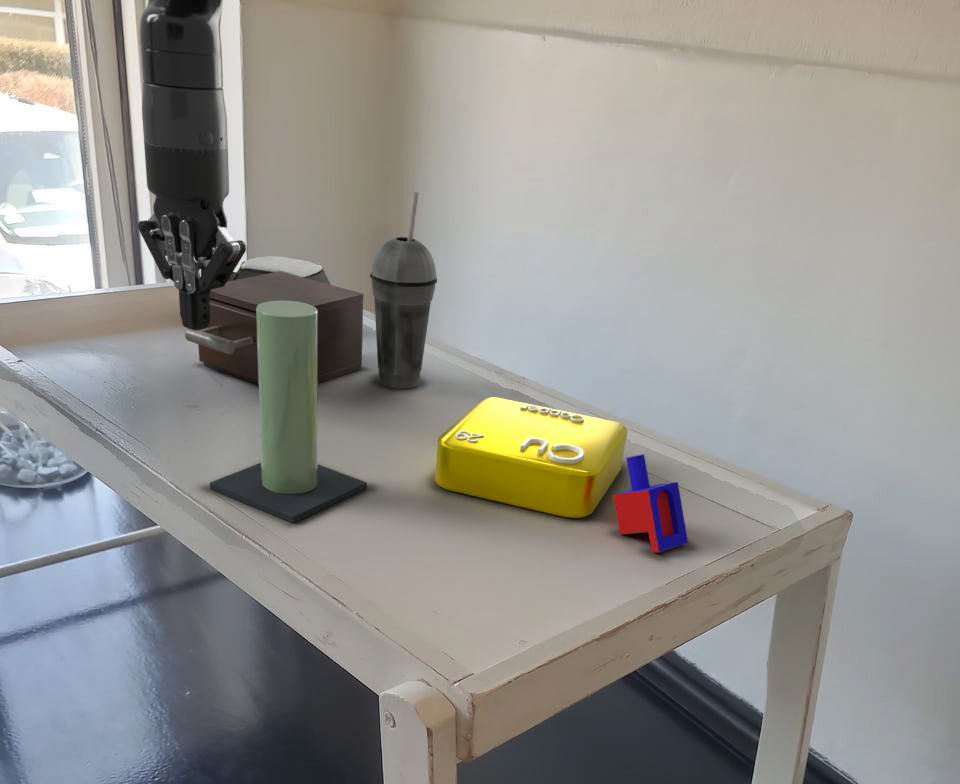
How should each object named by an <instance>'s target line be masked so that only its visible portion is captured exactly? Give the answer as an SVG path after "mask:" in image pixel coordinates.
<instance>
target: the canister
mask: <svg viewBox="0 0 960 784" xmlns="http://www.w3.org/2000/svg"><path fill="white" fill-rule="evenodd" d="M256 324H257V355H258V384H257V385H258V409H259V411H258V412H259V414H258V415H259V445H260V463H261V480H262V485H263V486H264V487H265V488H266V489H268V490H270V491H272V492H276V493H281V494H300V493H305V492H308V491H311V490H313V489H314V488H315V487H316V486H317V464H318V449H319V448H318V445H319V444H318V443H319V441H318V434H319V433H318V432H319V431H318V430H319V429H318V428H319V427H318V424H319V423H318V421H319V420H318V417H319V416H318V415H319V414H318V413H319V412H318V407H319V406H318V395H319V394H318V392H319V391H318V387H319V385H318V384H319V383H318V311H317V309H316V308H315V307H314V306H312V305H309V304H306V303H302V302H296V301H269V302H264V303H261V304H259V305H257V307H256Z"/></svg>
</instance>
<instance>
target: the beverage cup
mask: <svg viewBox="0 0 960 784" xmlns="http://www.w3.org/2000/svg"><path fill="white" fill-rule="evenodd" d="M418 201H419V192H416V191H413V195H412V203H411V210H410V218H409V225H408V226H409V227H408V234H407V236H398V237H394V238H392V239H389V240H388V241H386V242H385V243H383V245H381V247H380V248H379V249H378V251H377V252H376V254H375V256H374V259H373V261H372V265H371V272H370V275H369V277H370V279H371V290H372V295H373V297H374V298H373V299H374V318H375V337H376V357H377V368H378V376H379V378H378V379H379V380H378V381H379V383H380V385H383V386H385V387H388V388H393V389H413V388H416V387H418V386H419V383H420V377H421V372H422V367H423V361H424V360H423V359H424V353H425V346H426V339H427V332H428V324H429V317H430V311H431V310H430V309H431V303H432V301H433V298H434V294H435V291H436V284H437V283H438V277H437V269H436V263H435V259H434V258H433V255H432V253H431V252H430V251H429V249H428V247H426V246H425V245H424V244H423V243H422V242H420V241H419V240H417V239H415V238H414V231H415V225H416V217H417V208H418Z"/></svg>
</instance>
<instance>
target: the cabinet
mask: <svg viewBox="0 0 960 784" xmlns="http://www.w3.org/2000/svg"><path fill="white" fill-rule="evenodd" d="M209 298H210V299H211V300H214V301H217V300H219V301H222V302H226V303H229V304H232V305H236V306H239V307H242V308H246V309H249V310H252V311H256V307H257V305H259V304H261V303H264V302H269V301H296V302H302V303H306V304H309V305H312V306H314V307H315V308H316V309H317V311H318V384H321V383H323V382H328V381H329V380H333V379H336V378H338V377H342V376H345V375H349V374H351V373H354V372H357V371H360V370H362V367H363V329H364V328H363V325H364V324H363V323H364V293H362V292H359V291H355V290H351V289H347V288H344V287H340V286H338V285H333V284H331V285H329V284H326V283H322V282H318V281H315V280H311V279H307V278H304V277H300V276H296V275H293V274H289V273H285V272H282V271H278V272H273V273H268V274H263V275H258V276H253V277H248V278H243V279H238V280H234V281H229V282H226V284H225V286H224V287H220V288H215V289H212V290H211V291H210V294H209ZM203 366H204V367H208V368H211V369H213V370H215V371H216V370H217V371H220V372H222V373H225V374H229V375H231V376H233V377H236V378H240V379H243V380H245V381H249V382H251V383H254V384H257V385H258V381H257V380H254V379H251V378H248V377H245V376H242V375H239V374H236V373H233V372H231V371H228V370H225V369H222V368H219V367H216V366H213V365H210V364H207V363H204V362H203Z"/></svg>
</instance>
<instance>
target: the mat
mask: <svg viewBox="0 0 960 784" xmlns="http://www.w3.org/2000/svg"><path fill="white" fill-rule="evenodd" d="M209 489H210V490H212V491H214V492H217V493H219V494H222V495H224V496H227V497H229V498H231V499H234V500H236V501H239V502H241V503H242V504H243V503H244V504H246V505H248V506H251V507H253V508H256V509H258V510H261V511H263V512H265V513H268V514H269V515H273V516H275V517H277V518H279V519H282V520H284V521H287V522H290V523H292V524H294V523H296V522H298V521H300V520H303V519H305V518H307V517H309V516H311V515H313V514H316V513H318V512H320V511H322V510H324V509H326V508H328V507H330V506H332V505H334V504H337V503H339V502H341V501H343V500H345V499H347V498H349V497H352V496H354V495H356V494H358V493H360V492H362V491H364V490H366V489H368V482H366V481H363V480H360V479H359V478H356V477H353V476H351V475H348V474H345V473H343V472H340V471H338V470H334V469H331V468H329V467H326V466H323V465H321V464H318V463H317V486H316V487H315V488H314V489H313V490H311V491H308V492H305V493H300V494H281V493H276V492H272V491H270V490H268V489H266V488H265V487H264V486H263V485H262V480H261V462H259V463H256V464H254V465H252V466H249V467H246V468H244V469H241V470H238V471H236V472H233V473H231V474H229V475H226V476H223V477H221V478H218V479H216V480H212V481H211V482H209Z"/></svg>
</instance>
